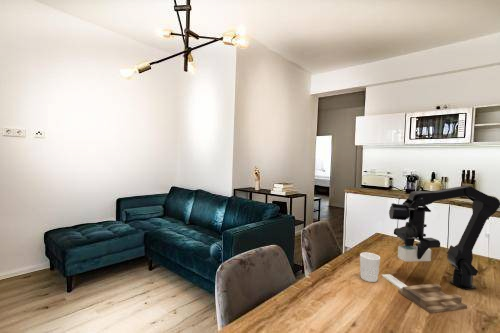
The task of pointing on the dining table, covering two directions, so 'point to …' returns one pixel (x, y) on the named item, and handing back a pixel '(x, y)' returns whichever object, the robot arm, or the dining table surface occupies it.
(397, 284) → the strip
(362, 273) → the white cup
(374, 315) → the dining table surface
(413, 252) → the white box
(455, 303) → the cradle
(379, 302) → the dining table surface
